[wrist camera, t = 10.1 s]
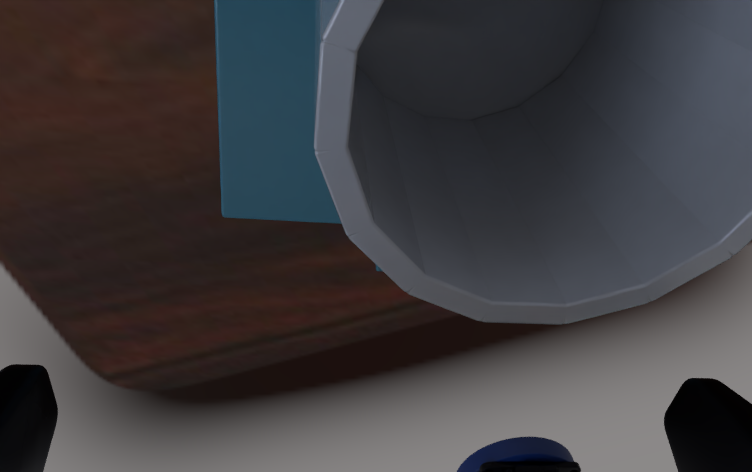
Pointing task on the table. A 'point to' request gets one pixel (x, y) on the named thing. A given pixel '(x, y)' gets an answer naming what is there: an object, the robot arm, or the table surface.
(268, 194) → the container
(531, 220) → the cup
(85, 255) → the table surface
